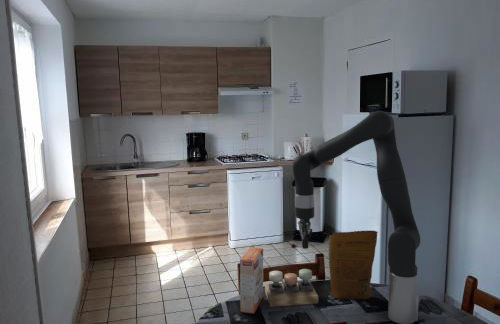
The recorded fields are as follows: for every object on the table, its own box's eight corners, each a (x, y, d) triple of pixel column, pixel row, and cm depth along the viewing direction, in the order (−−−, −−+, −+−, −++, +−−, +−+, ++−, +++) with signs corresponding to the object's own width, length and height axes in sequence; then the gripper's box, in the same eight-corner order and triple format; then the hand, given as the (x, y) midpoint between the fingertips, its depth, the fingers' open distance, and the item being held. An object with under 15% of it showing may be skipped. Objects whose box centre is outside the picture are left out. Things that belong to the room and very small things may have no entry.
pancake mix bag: (377, 301, 159) (379, 232, 155) (328, 300, 160) (329, 232, 157) (373, 293, 166) (375, 227, 162) (326, 293, 167) (327, 227, 163)
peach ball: (295, 284, 166) (295, 272, 165) (298, 289, 161) (298, 278, 160) (283, 284, 166) (283, 273, 165) (285, 290, 160) (285, 278, 160)
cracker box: (255, 314, 151) (254, 260, 148) (239, 312, 152) (238, 259, 149) (264, 297, 164) (263, 247, 161) (250, 295, 166) (249, 246, 163)
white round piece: (281, 281, 165) (281, 270, 165) (283, 287, 160) (283, 275, 159) (268, 282, 165) (268, 271, 164) (270, 288, 160) (270, 276, 159)
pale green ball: (310, 279, 167) (310, 268, 166) (313, 285, 161) (313, 273, 161) (297, 280, 166) (297, 269, 165) (300, 286, 161) (300, 274, 160)
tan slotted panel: (309, 288, 171) (309, 276, 171) (318, 303, 158) (318, 290, 158) (265, 291, 169) (264, 279, 168) (270, 306, 156) (270, 293, 156)
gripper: (318, 208, 153) (319, 253, 155) (309, 201, 166) (309, 242, 168) (299, 209, 152) (300, 254, 154) (291, 202, 165) (292, 243, 167)
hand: (305, 247), depth 161 cm, fingers closed
